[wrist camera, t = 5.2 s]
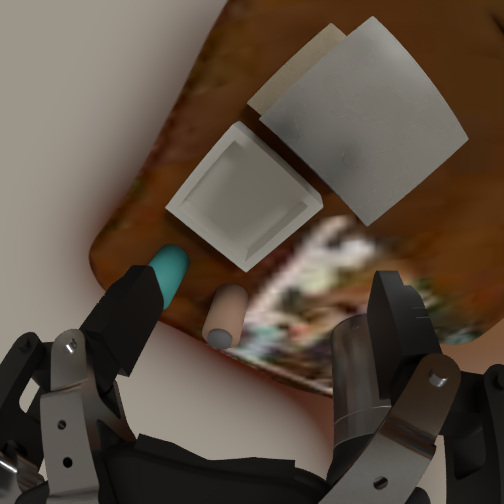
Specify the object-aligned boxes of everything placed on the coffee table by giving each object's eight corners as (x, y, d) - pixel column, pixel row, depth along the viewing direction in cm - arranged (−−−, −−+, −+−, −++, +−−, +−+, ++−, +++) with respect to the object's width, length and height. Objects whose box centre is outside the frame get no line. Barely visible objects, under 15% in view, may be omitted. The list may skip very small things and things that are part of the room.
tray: (320, 195, 28) (323, 207, 25) (250, 257, 33) (246, 272, 31) (239, 120, 25) (232, 124, 22) (175, 196, 30) (165, 207, 28)
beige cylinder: (255, 297, 37) (246, 344, 30) (234, 313, 39) (222, 357, 32) (229, 277, 35) (214, 323, 29) (209, 295, 38) (193, 338, 31)
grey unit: (415, 118, 22) (497, 153, 10) (338, 186, 27) (366, 264, 16) (329, 26, 18) (359, -25, 7) (249, 102, 24) (207, 115, 12)
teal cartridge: (196, 260, 35) (174, 302, 28) (178, 278, 37) (156, 320, 30) (168, 238, 33) (140, 277, 27) (152, 258, 36) (125, 297, 29)
